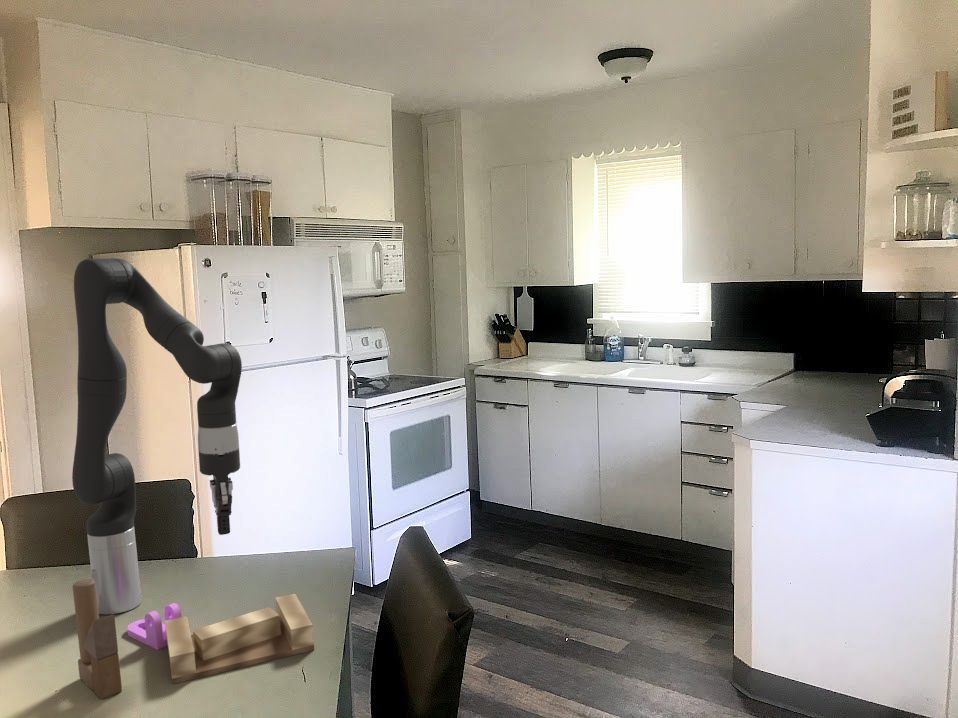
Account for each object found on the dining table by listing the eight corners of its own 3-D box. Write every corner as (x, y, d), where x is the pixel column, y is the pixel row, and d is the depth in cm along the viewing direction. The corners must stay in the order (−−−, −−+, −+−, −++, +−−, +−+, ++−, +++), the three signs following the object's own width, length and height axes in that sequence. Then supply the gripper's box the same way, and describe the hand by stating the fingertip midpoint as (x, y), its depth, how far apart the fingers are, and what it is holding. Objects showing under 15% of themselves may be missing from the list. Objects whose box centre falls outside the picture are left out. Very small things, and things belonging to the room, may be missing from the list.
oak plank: (203, 660, 145) (201, 640, 144) (194, 650, 149) (192, 630, 148) (280, 634, 154) (279, 615, 153) (270, 626, 158) (269, 606, 157)
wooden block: (101, 700, 135) (90, 599, 132) (79, 678, 142) (68, 582, 140) (123, 691, 137) (113, 592, 135) (100, 670, 145) (90, 576, 143)
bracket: (183, 638, 156) (180, 605, 155) (157, 650, 152) (154, 616, 151) (148, 622, 164) (145, 590, 163) (122, 633, 160) (119, 600, 159)
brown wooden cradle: (172, 684, 139) (170, 657, 138) (167, 645, 153) (164, 620, 153) (314, 649, 149) (312, 624, 148) (296, 616, 164) (295, 593, 163)
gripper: (195, 442, 158) (201, 525, 160) (201, 457, 146) (207, 547, 148) (234, 438, 161) (239, 520, 163) (243, 452, 149) (248, 541, 151)
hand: (224, 533), depth 156 cm, fingers closed
